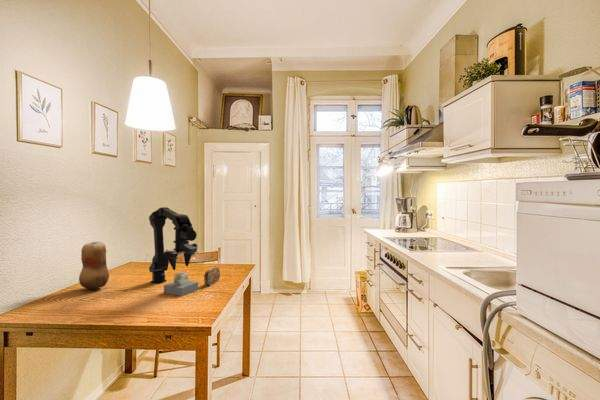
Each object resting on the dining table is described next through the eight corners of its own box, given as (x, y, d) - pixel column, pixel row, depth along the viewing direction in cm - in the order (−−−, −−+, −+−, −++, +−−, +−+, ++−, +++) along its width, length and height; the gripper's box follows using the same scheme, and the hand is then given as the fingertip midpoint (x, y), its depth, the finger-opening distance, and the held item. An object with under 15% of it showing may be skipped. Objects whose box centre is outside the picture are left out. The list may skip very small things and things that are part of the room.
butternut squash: (73, 293, 168) (73, 244, 168) (86, 286, 181) (86, 240, 181) (103, 292, 170) (102, 244, 170) (113, 285, 183) (113, 240, 183)
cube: (174, 284, 172) (174, 274, 172) (180, 282, 177) (180, 272, 177) (181, 285, 170) (181, 275, 170) (188, 283, 175) (188, 273, 175)
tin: (208, 287, 181) (208, 272, 181) (203, 287, 182) (203, 271, 182) (220, 280, 196) (220, 266, 196) (215, 279, 197) (215, 265, 197)
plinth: (163, 293, 170) (163, 285, 170) (180, 286, 181) (180, 279, 181) (182, 296, 166) (182, 288, 166) (198, 289, 177) (198, 282, 177)
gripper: (179, 242, 164) (179, 273, 164) (204, 237, 181) (204, 266, 181) (162, 240, 168) (162, 271, 169) (188, 236, 185) (188, 263, 186)
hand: (180, 268), depth 176 cm, fingers open, 9 cm apart
